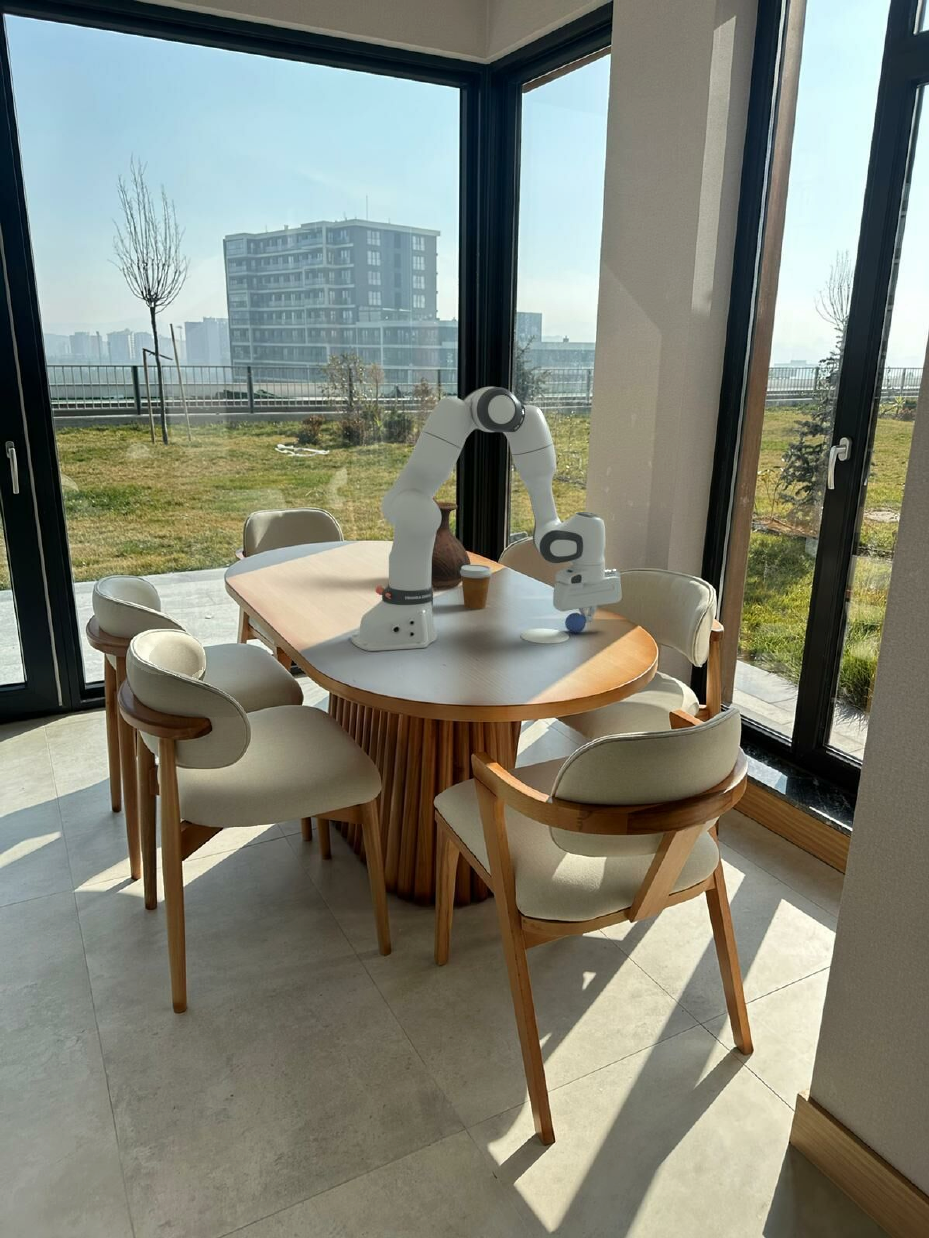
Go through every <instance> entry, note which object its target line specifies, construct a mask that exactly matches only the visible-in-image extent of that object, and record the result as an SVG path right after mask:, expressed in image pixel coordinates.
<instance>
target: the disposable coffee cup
mask: <svg viewBox="0 0 929 1238" xmlns="http://www.w3.org/2000/svg"><path fill="white" fill-rule="evenodd" d="M460 573H461V577H462V582H461V584H462V585H461V586H462V595H463V596H462V597H463V605H464V608H466V609H468V610H481V609H485V608H486V605H487V599H488V592H489V586H490V578H491V575H492V573H493V572H492V569H491V567H490V566H488V565H484V564H483V565H482V564H471V565H465V566H462V567H461V570H460Z"/></svg>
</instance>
